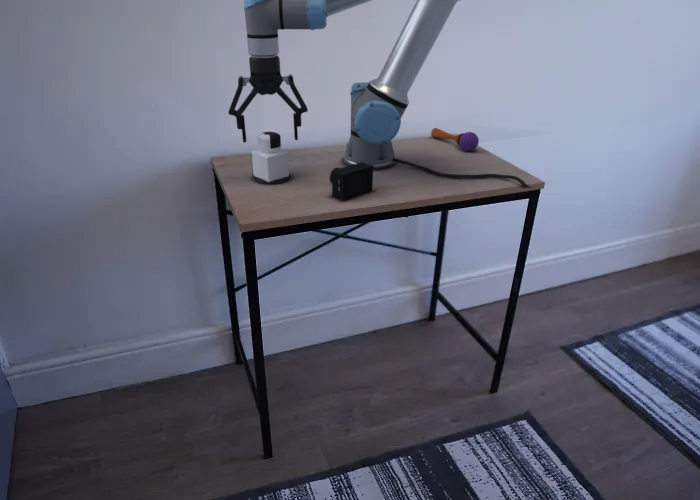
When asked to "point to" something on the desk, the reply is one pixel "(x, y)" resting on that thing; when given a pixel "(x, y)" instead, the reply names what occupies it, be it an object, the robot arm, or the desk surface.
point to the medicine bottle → (270, 158)
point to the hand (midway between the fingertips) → (270, 140)
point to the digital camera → (351, 181)
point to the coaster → (272, 181)
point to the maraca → (459, 138)
